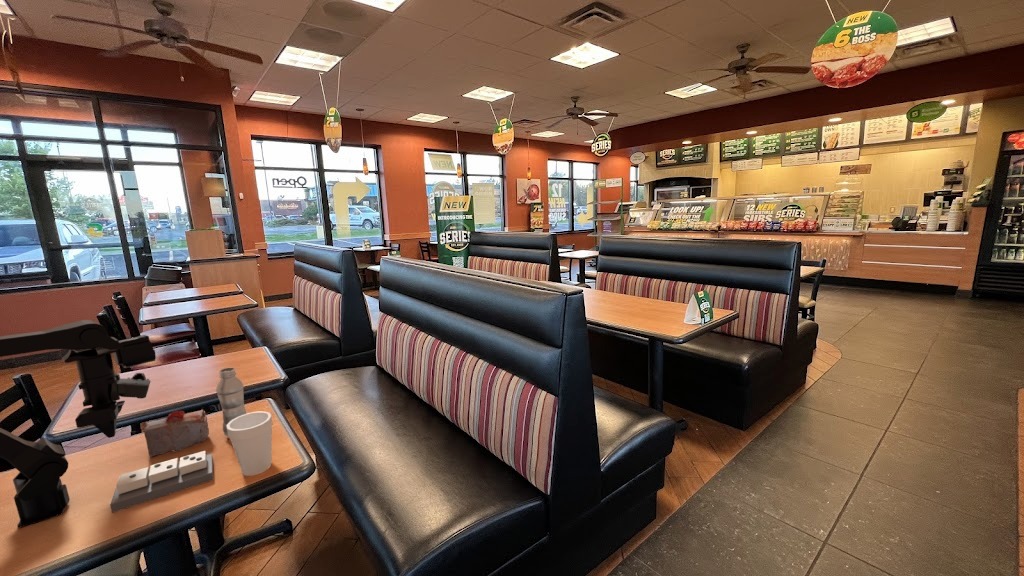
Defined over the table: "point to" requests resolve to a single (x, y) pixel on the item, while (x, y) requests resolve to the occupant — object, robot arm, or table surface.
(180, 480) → the keypad board
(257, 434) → the foam cup
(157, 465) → the key two
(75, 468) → the table surface
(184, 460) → the key three
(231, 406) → the plastic bottle
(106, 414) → the robot arm
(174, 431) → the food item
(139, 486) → the key one
